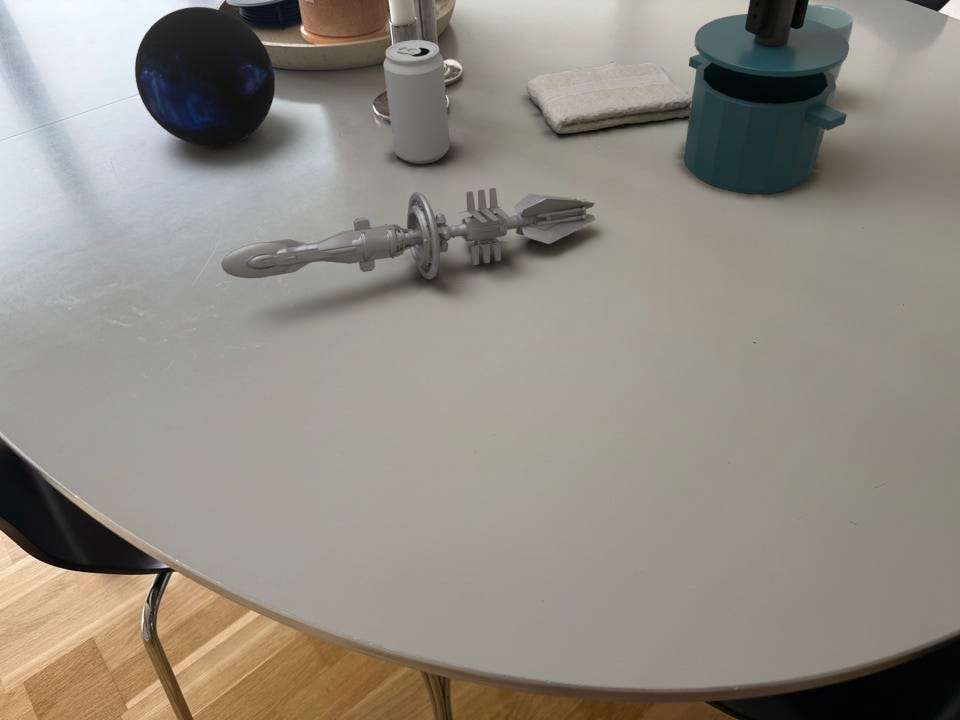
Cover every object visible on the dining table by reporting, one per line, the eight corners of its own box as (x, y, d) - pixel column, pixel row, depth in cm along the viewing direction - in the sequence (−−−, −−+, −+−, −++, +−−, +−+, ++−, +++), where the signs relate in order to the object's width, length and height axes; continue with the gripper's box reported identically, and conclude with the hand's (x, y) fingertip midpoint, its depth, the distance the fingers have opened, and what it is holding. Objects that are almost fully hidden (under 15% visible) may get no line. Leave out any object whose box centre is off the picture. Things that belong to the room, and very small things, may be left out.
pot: (729, 112, 98) (743, 33, 92) (861, 178, 86) (888, 91, 79) (642, 145, 93) (650, 63, 86) (769, 219, 81) (790, 131, 74)
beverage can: (437, 170, 90) (428, 64, 82) (385, 162, 92) (371, 58, 84) (458, 144, 95) (451, 40, 87) (408, 136, 97) (397, 35, 89)
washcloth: (697, 117, 97) (701, 92, 95) (554, 140, 95) (554, 115, 92) (657, 77, 106) (659, 54, 104) (524, 98, 103) (524, 74, 101)
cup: (805, 81, 103) (825, 0, 97) (844, 107, 98) (868, 22, 91) (751, 92, 102) (768, 10, 95) (788, 118, 96) (808, 33, 89)
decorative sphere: (143, 173, 93) (96, 41, 82) (176, 113, 104) (138, -10, 94) (276, 167, 92) (244, 33, 82) (294, 108, 104) (269, -16, 93)
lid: (765, 14, 89) (780, -63, 83) (878, 57, 79) (903, -26, 74) (663, 46, 83) (672, -34, 78) (772, 97, 74) (791, 10, 69)
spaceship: (209, 213, 71) (215, 226, 64) (571, 165, 82) (611, 172, 74) (226, 301, 73) (234, 323, 66) (575, 244, 84) (613, 257, 77)
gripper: (784, -175, 62) (740, 63, 74) (923, -203, 68) (861, 21, 80) (713, -188, 67) (683, 38, 79) (849, -213, 73) (801, 0, 85)
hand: (773, 27), depth 80 cm, fingers closed on lid, 3 cm apart
